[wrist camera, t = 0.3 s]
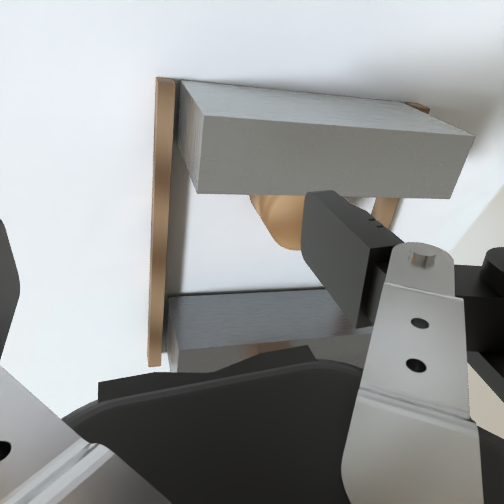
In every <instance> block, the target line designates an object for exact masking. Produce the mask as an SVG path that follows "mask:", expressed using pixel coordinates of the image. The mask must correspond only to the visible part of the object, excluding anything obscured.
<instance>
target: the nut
mask: <svg viewBox="0 0 504 504" xmlns="http://www.w3.org/2000/svg"><path fill="white" fill-rule="evenodd" d="M249 196H250V200H251V203H252V204H253V206H254V208H255V209H256V211H257V213H258V214H259V216H260V218H261V219H262V221H263V222H264V224H265V226H266V227H267V229H268V231H269V232H270V234H271V235H272V237H273V239H274V240H275V241H276V242H277V243H278V244H279V245H280V246H282V247H284V248H286V249H289V250H301V230H302V219H303V208H304V199H305V196H290V195H249Z"/></svg>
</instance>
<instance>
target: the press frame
mask: <svg viewBox="0 0 504 504" xmlns="http://www.w3.org/2000/svg"><path fill="white" fill-rule="evenodd" d="M175 88H176V84H175V82H174V81H173V79H167V78H157V77H156V92H155V124H154V156H153V188H152V220H151V252H150V284H149V316H148V348H147V356H148V366H149V367H156V366H161V350H162V331H163V313H164V294H165V275H166V256H167V238H168V219H169V200H170V181H171V163H172V144H173V125H174V106H175ZM406 105H409V106H411V107H413V108H415V109H417V110H419V111H422V112H424V113H426V114H428V113H429V110H430V109H429V108H427V107H424V106H422V105H420V104H417V103H407V102H406ZM398 200H399V198H384V197H376V201H375V204H374V207H373V210H372V213H371V215H372V216H373V217H374V218H375V219H376V220H378V221H379V222H380V223H381V224H383V225H384V227H386V228H387V229H389V226H390V223H391V221H392V218H393V215H394V212H395V209H396V206H397V203H398Z"/></svg>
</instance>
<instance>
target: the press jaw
mask: <svg viewBox="0 0 504 504" xmlns="http://www.w3.org/2000/svg"><path fill="white" fill-rule="evenodd" d="M373 327H374V326H370V327H364V328H358V329H355V327H354V326H353V325H352V323H351V322H350V321H349V319H348V318H347V317H346V315H345V314H344V313H343V311H342V310H341V309H340V307H339V306H338V305H337V303H336V302H335V301H334V299H333V298H332V297H331V295H330V294H329V293H328V291H327V290H326V289H319V290H299V291H280V292H260V293H240V294H220V295H201V296H181V297H169V301H168V318H167V334H166V347H167V353H168V360H169V366H170V372H186V373H209V372H215V371H218V370H220V369H223V368H225V367H228V366H230V365H233V364H235V363H238V362H240V361H243V360H245V359H247V358H250V357H252V356H255V355H257V354H260V353H264V352H270V351H276V350H281V349H287V348H292V347H298V346H303V345H308V346H309V348H310V350H311V351H312V353H313V355H314V357H315V358H316V359H326V360H334V361H339V362H344V363H347V364H351V365H354V366H357V367H360V368H362V369H364V366H365V362H366V357H367V353H368V349H369V345H370V340H371V336H372V332H373Z"/></svg>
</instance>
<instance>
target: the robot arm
mask: <svg viewBox="0 0 504 504" xmlns="http://www.w3.org/2000/svg"><path fill="white" fill-rule="evenodd" d="M301 252H302V256H303V258H304V260H305V262H306V263H307V265H308V266H309V267H310V269H311V270H312V271H313V273H314V274H315V275H316V277H317V278H318V279H319V281H320V282H321V283H322V285H323V286H324V287H325V289H326V290H327V291H328V293H329V294H330V295H331V297H332V298H333V299H334V301H335V302H336V303H337V305H338V306H339V307H340V309H341V310H342V311H343V313H344V314H345V315H346V317H347V318H348V319H349V321H350V322H351V323H352V325H353V326H354V327H355V329H358V328H364V327H370V326H374V327H373V332H372V336H371V340H370V345H369V349H368V353H367V357H366V362H365V366H364V369H362V368H360V367H357V366H354V365H351V364H347V363H344V362H339V361H334V360H326V359H316V358H315V357H314V355H313V353H312V351H311V350H310V348H309V346H308V345H303V346H298V347H292V348H287V349H281V350H276V351H270V352H264V353H260V354H257V355H255V356H252V357H250V358H247V359H245V360H243V361H240V362H238V363H235V364H233V365H230V366H228V367H225V368H223V369H220V370H218V371H215V372H209V373H186V372H153V373H148V374H142V375H137V376H131V377H126V378H120V379H115V380H109V381H103V382H98V400H96V401H93V402H91V403H89V404H87V405H85V406H83V407H81V408H79V409H77V410H75V411H73V412H72V413H70V414H68V415H67V416H65V417H63V418H62V419H60V418H59V417H58V416H57V415H56V414H54V413H53V412H52V411H51V410H50V409H49V408H48V407H47V406H45V405H44V404H43V403H42V402H41V401H40V400H39V399H38V398H36V397H35V396H34V395H33V394H32V393H31V392H30V391H29V390H27V389H26V388H25V387H24V386H23V385H22V384H21V383H20V382H18V381H17V380H16V379H15V378H14V377H13V376H12V375H11V374H9V373H8V372H7V371H6V370H5V369H4V368H3V367H2V366H0V504H504V439H502V438H500V437H498V436H496V435H494V434H492V433H490V432H488V431H486V430H484V429H482V428H481V427H479V426H477V425H476V423H475V421H473V420H472V419H471V417H470V407H469V389H468V370H467V362H468V363H469V364H470V365H471V367H472V368H473V369H474V370H475V371H476V372H477V373H478V374H479V376H480V377H481V378H482V379H483V380H484V381H485V382H486V383H487V384H488V386H489V387H490V388H491V389H492V390H493V391H494V392H495V393H496V394H497V396H498V397H499V398H500V399H501V400H502V401H503V402H504V247H497V248H493V249H490V250H489V251H487V253H486V256H485V259H484V262H483V265H482V266H467V265H454V260H453V258H452V257H451V256H450V254H448V253H447V252H446V251H444V250H442V249H440V248H438V247H435V246H432V245H429V244H424V243H418V242H407V243H404V242H403V241H402V240H401V239H400V238H398V237H397V236H396V235H395V234H394V233H392V232H391V231H390V230H389V229H387V228H386V227H384V225H383V224H381V223H380V222H379V221H378V220H376V219H375V218H374V217H373V216H372V215H370V214H369V213H368V212H367V211H365V210H363V209H361V208H359V207H356V206H354V205H352V204H349V203H348V202H347V201H346V200H345V199H344V198H342V197H341V196H340V195H339V194H338V193H337V192H335V191H334V190H325V191H313V192H308V193H307V194H306V196H305V199H304V208H303V219H302V230H301ZM19 295H20V282H19V275H18V271H17V268H16V264H15V261H14V257H13V254H12V250H11V247H10V243H9V240H8V236H7V233H6V229H5V226H4V224H3V222H2V220H1V219H0V359H1V355H2V352H3V349H4V345H5V342H6V339H7V335H8V332H9V329H10V326H11V322H12V319H13V316H14V312H15V309H16V306H17V302H18V299H19Z"/></svg>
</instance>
